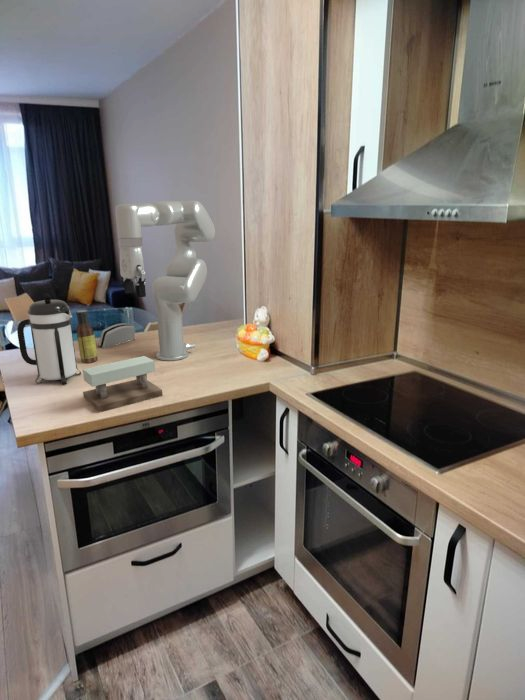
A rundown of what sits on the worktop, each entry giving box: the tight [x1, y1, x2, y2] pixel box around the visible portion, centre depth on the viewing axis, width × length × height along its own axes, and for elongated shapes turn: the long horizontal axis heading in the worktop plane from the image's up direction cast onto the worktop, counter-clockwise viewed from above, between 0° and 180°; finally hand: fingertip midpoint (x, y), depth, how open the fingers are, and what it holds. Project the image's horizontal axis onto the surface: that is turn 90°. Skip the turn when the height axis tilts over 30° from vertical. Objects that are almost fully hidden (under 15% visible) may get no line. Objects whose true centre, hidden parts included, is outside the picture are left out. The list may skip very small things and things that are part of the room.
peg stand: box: [82, 373, 163, 413], centre depth 145 cm, size 20×14×7 cm
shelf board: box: [82, 355, 156, 387], centre depth 143 cm, size 20×7×4 cm, turn 130°
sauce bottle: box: [75, 309, 99, 364], centre depth 178 cm, size 6×6×20 cm
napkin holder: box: [96, 323, 136, 349], centre depth 203 cm, size 17×5×10 cm, turn 145°
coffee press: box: [16, 292, 82, 386], centre depth 157 cm, size 17×16×30 cm
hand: (135, 295), depth 158 cm, fingers open, 9 cm apart
